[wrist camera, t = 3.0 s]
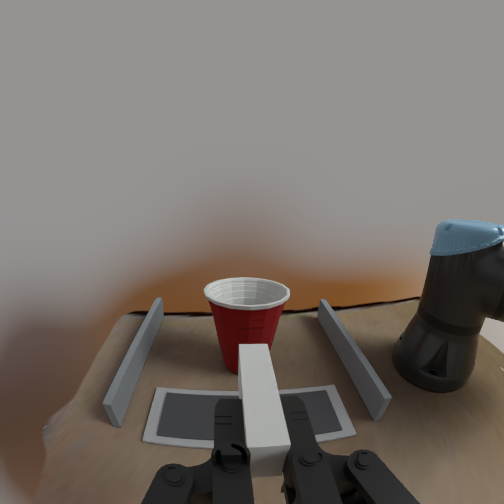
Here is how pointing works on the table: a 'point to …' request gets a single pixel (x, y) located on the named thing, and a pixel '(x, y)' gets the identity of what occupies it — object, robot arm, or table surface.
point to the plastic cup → (245, 313)
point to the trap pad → (203, 402)
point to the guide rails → (340, 338)
